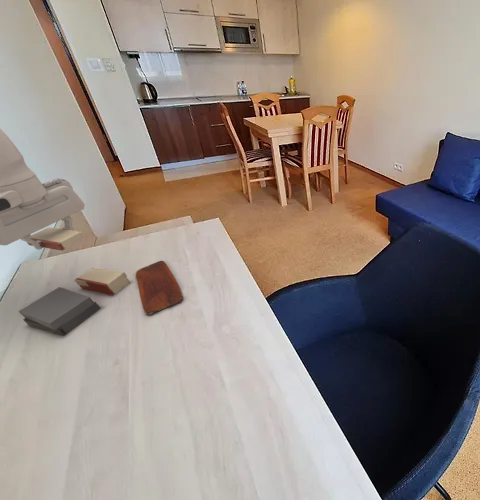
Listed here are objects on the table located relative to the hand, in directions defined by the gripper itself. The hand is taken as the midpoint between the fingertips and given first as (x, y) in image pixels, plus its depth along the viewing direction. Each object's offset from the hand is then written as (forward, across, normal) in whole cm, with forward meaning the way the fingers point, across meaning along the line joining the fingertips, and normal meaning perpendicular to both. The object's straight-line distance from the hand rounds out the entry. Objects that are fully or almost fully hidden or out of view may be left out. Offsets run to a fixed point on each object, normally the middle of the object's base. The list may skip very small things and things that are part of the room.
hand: (56, 240), depth 80 cm
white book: (0, 0, 0) cm, 0 cm away
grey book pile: (+19, +9, 0) cm, 21 cm away
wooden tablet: (+20, -8, +16) cm, 27 cm away
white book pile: (+19, -4, 0) cm, 20 cm away
